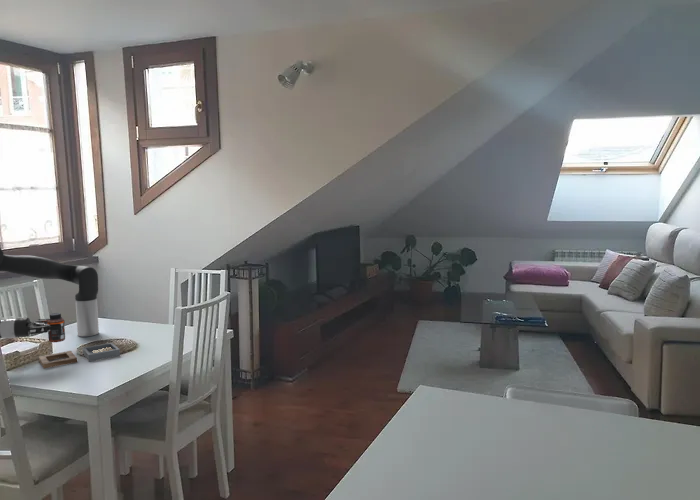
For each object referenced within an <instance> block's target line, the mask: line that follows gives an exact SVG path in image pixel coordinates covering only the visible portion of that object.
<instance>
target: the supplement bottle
mask: <svg viewBox="0 0 700 500" xmlns="http://www.w3.org/2000/svg"><path fill="white" fill-rule="evenodd" d="M48 319H49V320H48V321H47V324H50V326H51V324H61V329H60V330H51V331H48V332H47V334H48V335H47V336H48V341H49V343H59V342H60V343H61V342H63V341H65V340H66V328H65V324H64V321H65V319H64V318H63V317H62V313H61V312H52V313H50V314H49V318H48Z"/></svg>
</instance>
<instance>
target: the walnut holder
mask: <svg viewBox="0 0 700 500" xmlns="http://www.w3.org/2000/svg"><path fill="white" fill-rule="evenodd" d="M38 362H39V363H40V365H41V367H42V369H49V368H55V367H60V366H64V365H69V364H76V363H78V358H77V355H75V354H74V352H73V351H72V350H66V351H62V352H56V353H51V354H45V355H40V356H38Z"/></svg>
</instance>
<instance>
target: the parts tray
mask: <svg viewBox="0 0 700 500" xmlns="http://www.w3.org/2000/svg"><path fill="white" fill-rule="evenodd" d="M106 347H111V348H112V349H113V350H109V351H103V352H98V353H93V352H92V351H93V350H98V349H102V348H106ZM81 349H82V355H83V354H84V355H83V357H85V359H86V360H87V361H88V362H94V361H99V360H104V359H109V358H115V357H119V356H121V351H120V350H121V349H120V348H119V347H118V346H117V345H116V344H114V342H107V343H103V344H95V345H90V346H84V347H81Z"/></svg>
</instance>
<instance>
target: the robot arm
mask: <svg viewBox="0 0 700 500" xmlns="http://www.w3.org/2000/svg"><path fill="white" fill-rule="evenodd" d="M0 272H6V273H11V274H16V275H23V276H27V277H31V278H38V279H45V280H61V281H66V282H68V283H69V282H70V283H73V284H75V285H78V292H77V293H76V294H74V295H75V296H74V299H75V311H76V314H75V315H76V316H75V317H76V327H77V328H76V329H77V330H76V331H77V336H78V337H82V338H83V337H92V336H96V335H98V334H99V333H100V330H99V329H100V328H99V312H98V311H99V309H98V297H97V296H98V293H99V277H98V276H99V275H98V272H97V270H96V269H95V268H94V267H93V266H92V267H91V266H87V265H74V264H66V263H65V264H64V263H61V262H59V261H56V260H54V259H50V258H47V257H42V256H37V255H9V254H4V251H3V249H2V248H1V247H0ZM49 319H50V318H41V319H40V318H39V319H37V320H34V321H31V319H30V318H29V317H20V318H18V317H17V318H7V319H2V320H1V319H0V339H13V338H26V337H27V338H28V337H30V335H36V334H37V335H38V334H43V333H45V334H46V333H47V334H48V331H51V330H60V329H61V324H51V326H50V324H47V321H48V320H49ZM65 321H66V320H64V325H65V324H66V323H65Z"/></svg>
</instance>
